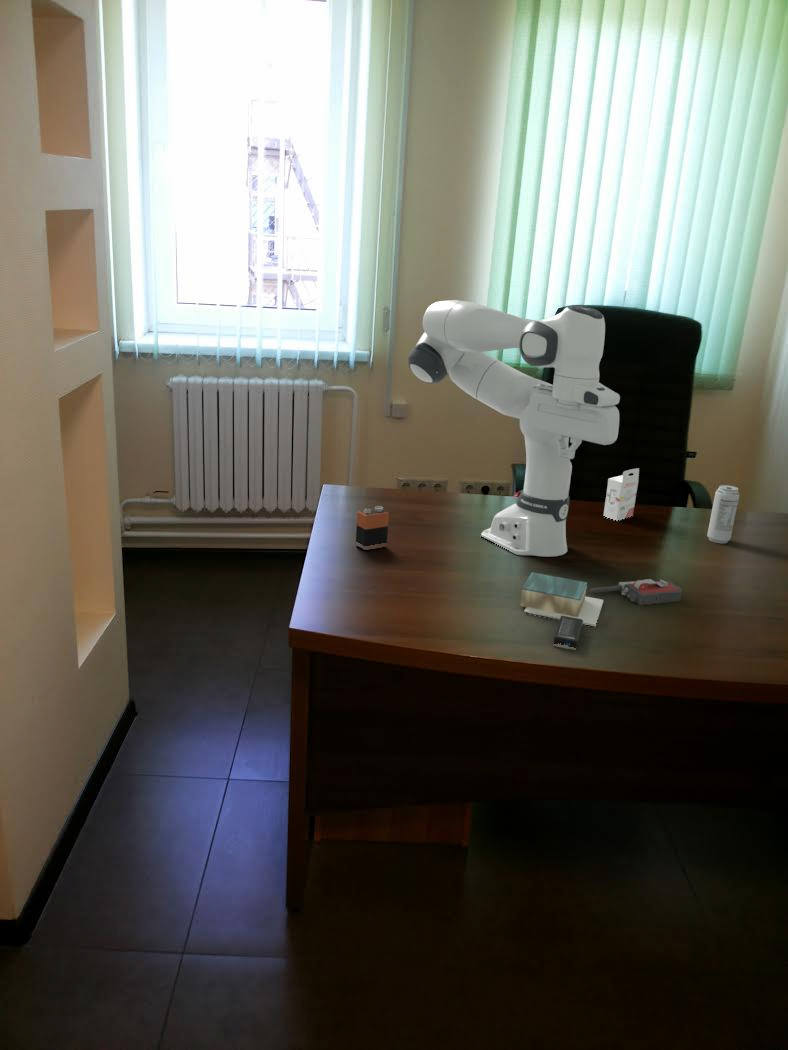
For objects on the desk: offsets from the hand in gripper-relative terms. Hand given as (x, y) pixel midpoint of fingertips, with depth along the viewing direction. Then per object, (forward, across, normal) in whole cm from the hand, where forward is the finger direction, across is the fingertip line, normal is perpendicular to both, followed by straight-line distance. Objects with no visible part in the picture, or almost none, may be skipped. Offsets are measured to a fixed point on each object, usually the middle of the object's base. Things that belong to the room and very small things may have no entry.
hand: (565, 457), depth 170 cm
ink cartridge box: (+31, -22, +67) cm, 77 cm away
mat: (+31, +6, -2) cm, 32 cm away
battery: (+31, -45, -10) cm, 56 cm away
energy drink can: (+31, +6, +72) cm, 79 cm away
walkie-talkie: (+32, +12, +17) cm, 38 cm away
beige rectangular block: (+28, -2, -6) cm, 29 cm away
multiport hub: (+32, +14, -14) cm, 37 cm away
